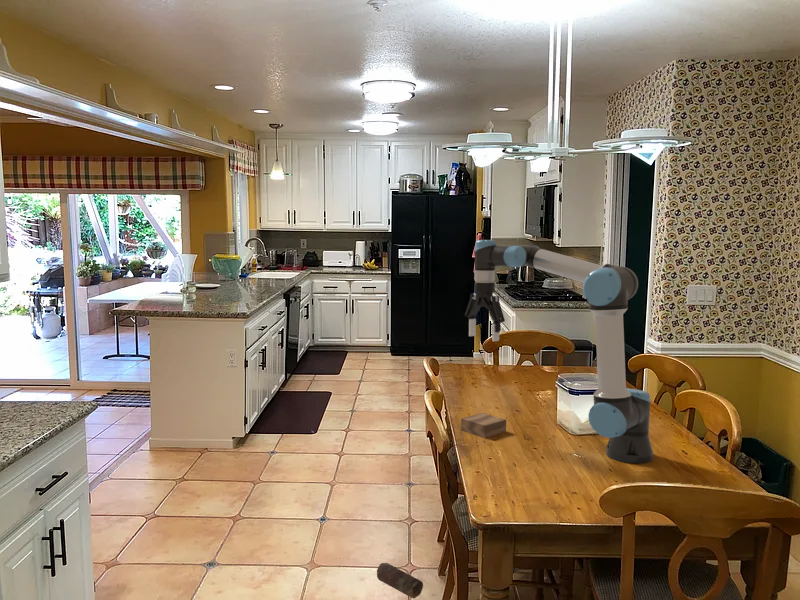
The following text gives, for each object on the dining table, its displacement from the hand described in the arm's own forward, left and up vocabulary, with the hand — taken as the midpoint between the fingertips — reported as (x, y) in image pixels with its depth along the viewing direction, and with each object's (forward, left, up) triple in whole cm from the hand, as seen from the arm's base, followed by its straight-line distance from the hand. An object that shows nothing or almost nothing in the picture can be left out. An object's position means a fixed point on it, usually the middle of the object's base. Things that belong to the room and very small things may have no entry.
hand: (483, 338), depth 243 cm
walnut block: (0, -1, -36) cm, 36 cm away
